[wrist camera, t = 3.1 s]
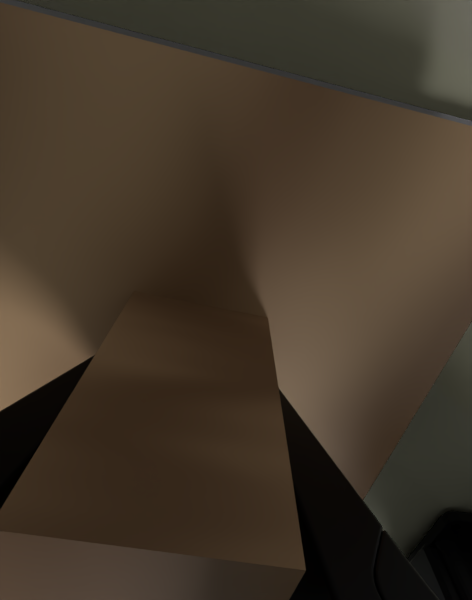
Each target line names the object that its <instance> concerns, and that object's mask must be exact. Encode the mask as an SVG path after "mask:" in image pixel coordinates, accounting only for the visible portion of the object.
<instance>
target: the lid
mask: <svg viewBox="0 0 472 600" xmlns="http://www.w3.org/2000/svg"><path fill="white" fill-rule="evenodd" d="M471 322H472V126H470V125H466V124H462V123H458V122H454V121H451V120H447V119H443V118H439V117H435V116H432V115H428V114H424V113H420V112H416V111H412V110H409V109H405V108H401V107H397V106H393V105H390V104H386V103H382V102H378V101H374V100H371V99H367V98H363V97H359V96H355V95H352V94H348V93H344V92H340V91H336V90H332V89H329V88H325V87H321V86H317V85H313V84H310V83H306V82H302V81H298V80H294V79H291V78H287V77H283V76H279V75H275V74H272V73H268V72H264V71H260V70H256V69H252V68H249V67H245V66H241V65H237V64H233V63H230V62H226V61H222V60H218V59H214V58H211V57H207V56H203V55H199V54H195V53H192V52H188V51H184V50H180V49H176V48H172V47H169V46H165V45H161V44H157V43H153V42H150V41H146V40H142V39H138V38H134V37H131V36H127V35H123V34H119V33H115V32H112V31H108V30H104V29H100V28H96V27H92V26H89V25H85V24H81V23H77V22H73V21H70V20H66V19H62V18H58V17H54V16H51V15H47V14H43V13H39V12H35V11H32V10H28V9H24V8H20V7H16V6H12V5H9V4H5V3H1V2H0V411H1V410H3V409H4V408H6V407H8V406H9V405H11V404H13V403H14V402H16V401H18V400H20V399H21V398H23V397H25V396H26V395H28V394H30V393H31V392H33V391H35V390H36V389H38V388H40V387H41V386H43V385H45V384H46V383H48V382H50V381H52V380H53V379H55V378H57V377H58V376H60V375H62V374H63V373H65V372H67V371H68V370H70V369H72V368H73V367H75V366H77V365H78V364H80V363H82V362H84V361H85V360H87V359H89V358H90V357H92V356H94V355H95V356H94V357H93V359H92V361H91V362H90V364H89V366H88V367H87V369H86V371H85V372H84V374H83V375H82V377H81V379H80V380H79V382H78V384H77V385H76V387H75V388H74V390H73V392H72V393H71V395H70V397H69V398H68V400H67V402H66V403H65V405H64V406H63V408H62V410H61V411H60V413H59V415H58V416H57V418H56V419H55V421H54V423H53V424H52V426H51V428H50V429H49V431H48V433H47V434H46V436H45V437H44V439H43V441H42V442H41V444H40V446H39V447H38V449H37V450H36V452H35V454H34V455H33V457H32V459H31V460H30V462H29V464H28V465H27V467H26V468H25V470H24V472H23V473H22V475H21V477H20V478H19V480H18V482H17V483H16V485H15V486H14V488H13V490H12V491H11V493H10V495H9V496H8V498H7V499H6V501H5V503H4V504H3V506H2V508H1V509H0V600H289V599H290V598H291V596H292V594H293V592H294V591H295V589H296V587H297V585H298V584H299V582H300V580H301V578H302V577H303V575H304V573H305V571H306V567H305V560H304V553H303V547H302V540H301V533H300V527H299V520H298V513H297V507H296V500H295V494H294V487H293V480H292V474H291V467H290V460H289V454H288V447H287V440H286V434H285V427H284V420H283V414H282V407H281V401H280V394H279V389H280V390H281V391H282V393H283V394H284V395H285V397H286V398H287V399H288V401H289V402H290V403H291V405H292V406H293V407H294V409H295V410H296V412H297V413H298V414H299V416H300V417H301V418H302V420H303V421H304V422H305V424H306V425H307V426H308V428H309V429H310V430H311V432H312V433H313V434H314V436H315V437H316V438H317V440H318V441H319V442H320V444H321V445H322V446H323V448H324V449H325V450H326V452H327V453H328V454H329V456H330V457H331V458H332V460H333V461H334V462H335V464H336V465H337V466H338V468H339V469H340V470H341V472H342V473H343V474H344V476H345V477H346V478H347V480H348V481H349V482H350V484H351V485H352V486H353V488H354V489H355V490H356V492H357V493H358V494H359V496H360V497H361V498H362V500H364V498H365V496H366V495H367V493H368V491H369V490H370V488H371V486H372V485H373V483H374V481H375V480H376V478H377V476H378V475H379V473H380V472H381V470H382V468H383V467H384V465H385V463H386V462H387V460H388V458H389V457H390V455H391V453H392V452H393V450H394V448H395V447H396V445H397V444H398V442H399V440H400V439H401V437H402V435H403V434H404V432H405V430H406V429H407V427H408V425H409V424H410V422H411V420H412V419H413V417H414V416H415V414H416V412H417V411H418V409H419V407H420V406H421V404H422V402H423V401H424V399H425V397H426V396H427V394H428V393H429V391H430V389H431V388H432V386H433V384H434V383H435V381H436V379H437V378H438V376H439V374H440V373H441V371H442V369H443V368H444V366H445V365H446V363H447V361H448V360H449V358H450V356H451V355H452V353H453V351H454V350H455V348H456V346H457V345H458V343H459V341H460V340H461V338H462V337H463V335H464V333H465V332H466V330H467V328H468V327H469V325H470V323H471Z"/></svg>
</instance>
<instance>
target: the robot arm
mask: <svg viewBox="0 0 472 600" xmlns="http://www.w3.org/2000/svg"><path fill="white" fill-rule="evenodd" d="M94 356H95V355H94ZM94 356H92V357H90V358H89V359H87V360H85V361H84V362H82V363H80V364H78V365H77V366H75V367H73V368H72V369H70V370H68V371H67V372H65V373H63V374H62V375H60V376H58V377H57V378H55V379H53V380H52V381H50V382H48V383H46V384H45V385H43V386H41V387H40V388H38V389H36V390H35V391H33V392H31V393H30V394H28V395H26V396H25V397H23V398H21V399H20V400H18V401H16V402H14V403H13V404H11V405H9V406H8V407H6V408H4V409H3V410H1V411H0V509H1V508H2V506H3V504H4V503H5V501H6V499H7V498H8V496H9V495H10V493H11V491H12V490H13V488H14V486H15V485H16V483H17V482H18V480H19V478H20V477H21V475H22V473H23V472H24V470H25V468H26V467H27V465H28V464H29V462H30V460H31V459H32V457H33V455H34V454H35V452H36V450H37V449H38V447H39V446H40V444H41V442H42V441H43V439H44V437H45V436H46V434H47V433H48V431H49V429H50V428H51V426H52V424H53V423H54V421H55V419H56V418H57V416H58V415H59V413H60V411H61V410H62V408H63V406H64V405H65V403H66V402H67V400H68V398H69V397H70V395H71V393H72V392H73V390H74V388H75V387H76V385H77V384H78V382H79V380H80V379H81V377H82V375H83V374H84V372H85V371H86V369H87V367H88V366H89V364H90V362H91V361H92V359H93V357H94ZM279 394H280V401H281V407H282V414H283V420H284V427H285V434H286V440H287V447H288V454H289V460H290V467H291V474H292V480H293V487H294V494H295V500H296V507H297V513H298V520H299V527H300V533H301V540H302V547H303V553H304V560H305V567H306V571H305V573H304V575H303V577H302V578H301V580H300V582H299V584H298V585H297V587H296V589H295V591H294V592H293V594H292V596H291V598H290V599H289V600H472V514H469V513H463V512H455V511H452V512H447V513H445V514H444V515H442V516H441V517H440V519H439V520H438V521H437V522H436V524H435V525H434V526H433V527H432V529H431V530H430V531H429V532H428V534H427V535H426V536H425V537H424V539H423V540H422V541H421V543H420V544H419V545H418V546H417V548H416V549H415V550H414V551H413V553H412V554H411V555H410V556H409V558H408V559H407V558H406V557H405V555H404V554H403V553H402V552H401V550H400V549H399V548H398V546H397V545H396V544H395V542H394V541H393V540H392V538H391V537H390V536H389V534H388V533H387V532H386V531H384V530H383V531H382V525H381V524H380V522H379V521H378V520H377V518H376V517H375V516H374V514H373V513H372V512H371V510H370V509H369V508H368V506H367V505H366V504H365V502H364V501H363V500H362V498H361V497H360V496H359V494H358V493H357V492H356V490H355V489H354V488H353V486H352V485H351V484H350V482H349V481H348V480H347V478H346V477H345V476H344V474H343V473H342V472H341V470H340V469H339V468H338V466H337V465H336V464H335V462H334V461H333V460H332V458H331V457H330V456H329V454H328V453H327V452H326V450H325V449H324V448H323V446H322V445H321V444H320V442H319V441H318V440H317V438H316V437H315V436H314V434H313V433H312V432H311V430H310V429H309V428H308V426H307V425H306V424H305V422H304V421H303V420H302V418H301V417H300V416H299V414H298V413H297V412H296V410H295V409H294V407H293V406H292V405H291V403H290V402H289V401H288V399H287V398H286V397H285V395H284V394H283V393H282V391H281V390H280V389H279Z"/></svg>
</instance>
